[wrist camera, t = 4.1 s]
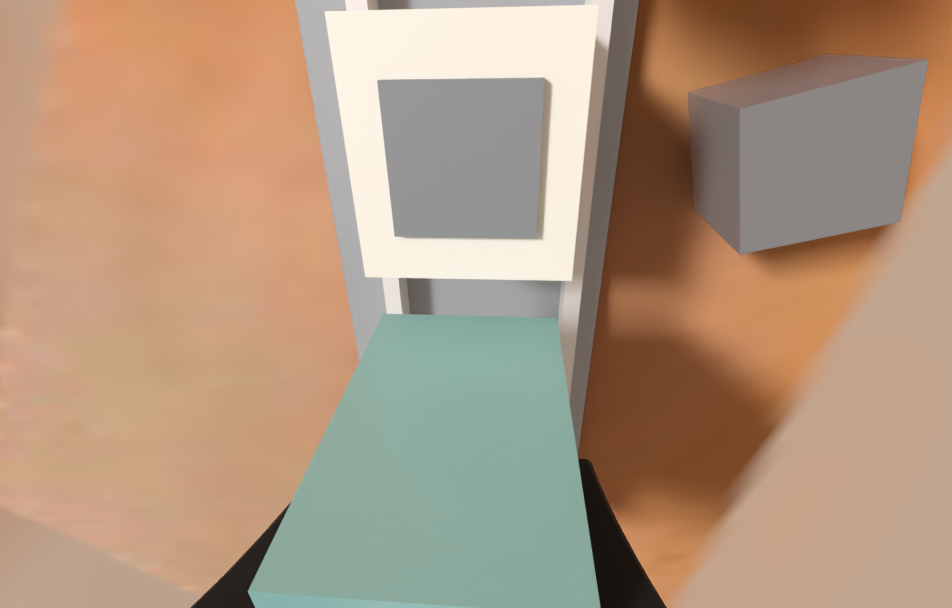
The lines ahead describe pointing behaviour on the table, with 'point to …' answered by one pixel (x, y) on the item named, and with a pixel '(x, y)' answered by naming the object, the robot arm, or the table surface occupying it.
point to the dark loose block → (805, 149)
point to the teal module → (441, 478)
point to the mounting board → (472, 156)
